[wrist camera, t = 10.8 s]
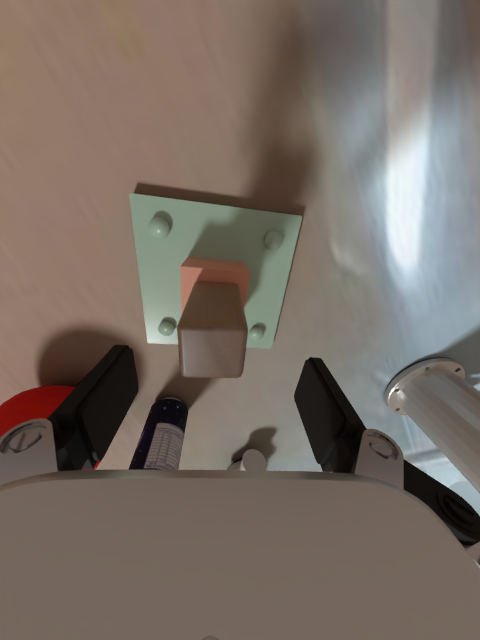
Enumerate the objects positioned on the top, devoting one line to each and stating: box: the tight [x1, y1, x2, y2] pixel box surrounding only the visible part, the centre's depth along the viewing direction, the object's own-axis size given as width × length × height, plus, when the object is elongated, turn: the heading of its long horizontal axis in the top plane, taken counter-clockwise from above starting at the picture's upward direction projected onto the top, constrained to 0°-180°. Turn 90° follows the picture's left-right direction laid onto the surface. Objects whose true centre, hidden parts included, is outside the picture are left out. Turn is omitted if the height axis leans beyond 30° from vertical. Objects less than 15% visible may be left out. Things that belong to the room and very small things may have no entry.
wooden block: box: [177, 281, 248, 378], centre depth 15 cm, size 4×4×8 cm
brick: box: [180, 257, 250, 313], centre depth 20 cm, size 6×6×4 cm
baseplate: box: [129, 193, 302, 349], centre depth 22 cm, size 16×16×2 cm
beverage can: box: [128, 397, 188, 470], centre depth 27 cm, size 6×6×12 cm
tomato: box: [0, 385, 101, 470], centre depth 25 cm, size 13×14×12 cm
